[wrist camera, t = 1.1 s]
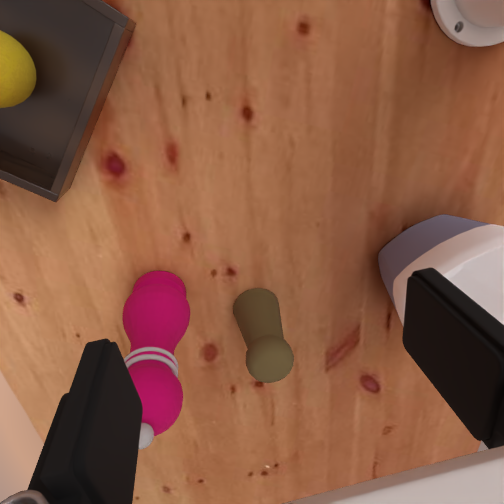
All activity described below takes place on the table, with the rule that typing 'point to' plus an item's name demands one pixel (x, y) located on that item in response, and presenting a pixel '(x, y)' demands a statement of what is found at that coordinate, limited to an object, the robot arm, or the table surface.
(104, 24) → the dark wooden tray
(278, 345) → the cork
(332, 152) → the table surface
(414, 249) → the bowl
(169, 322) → the pepper mill
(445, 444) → the table surface
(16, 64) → the lemon
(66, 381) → the table surface
